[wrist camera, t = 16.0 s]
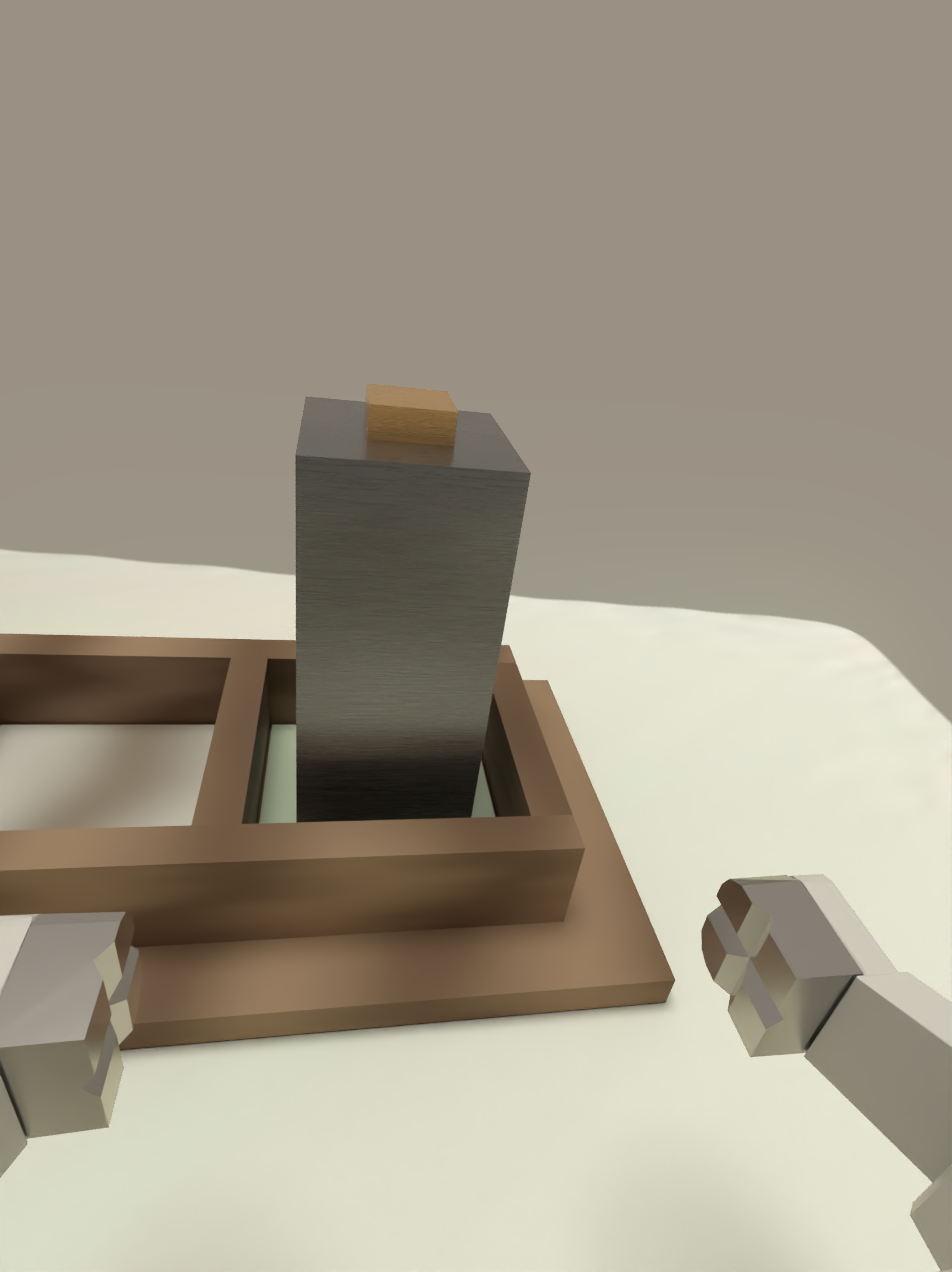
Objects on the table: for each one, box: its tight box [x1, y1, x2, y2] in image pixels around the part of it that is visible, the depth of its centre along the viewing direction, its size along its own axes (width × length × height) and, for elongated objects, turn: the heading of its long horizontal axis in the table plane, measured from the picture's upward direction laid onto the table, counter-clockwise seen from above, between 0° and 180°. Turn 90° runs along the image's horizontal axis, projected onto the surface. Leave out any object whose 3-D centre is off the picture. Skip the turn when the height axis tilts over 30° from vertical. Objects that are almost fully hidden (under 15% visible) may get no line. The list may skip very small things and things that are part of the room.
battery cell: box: [296, 384, 531, 823], centre depth 20 cm, size 5×5×13 cm
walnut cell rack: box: [0, 634, 675, 1050], centre depth 22 cm, size 24×14×4 cm, turn 99°
